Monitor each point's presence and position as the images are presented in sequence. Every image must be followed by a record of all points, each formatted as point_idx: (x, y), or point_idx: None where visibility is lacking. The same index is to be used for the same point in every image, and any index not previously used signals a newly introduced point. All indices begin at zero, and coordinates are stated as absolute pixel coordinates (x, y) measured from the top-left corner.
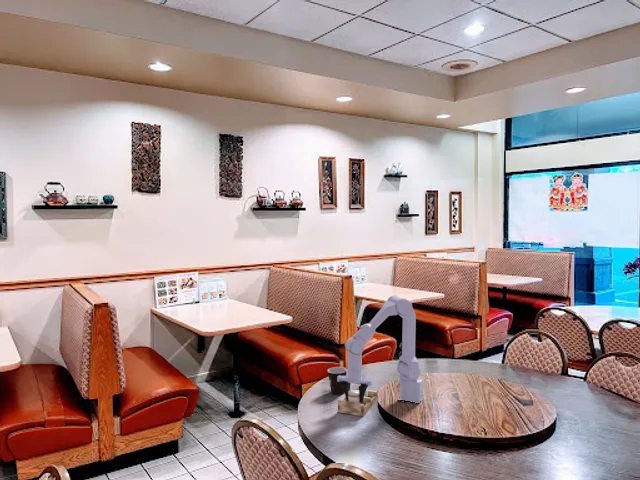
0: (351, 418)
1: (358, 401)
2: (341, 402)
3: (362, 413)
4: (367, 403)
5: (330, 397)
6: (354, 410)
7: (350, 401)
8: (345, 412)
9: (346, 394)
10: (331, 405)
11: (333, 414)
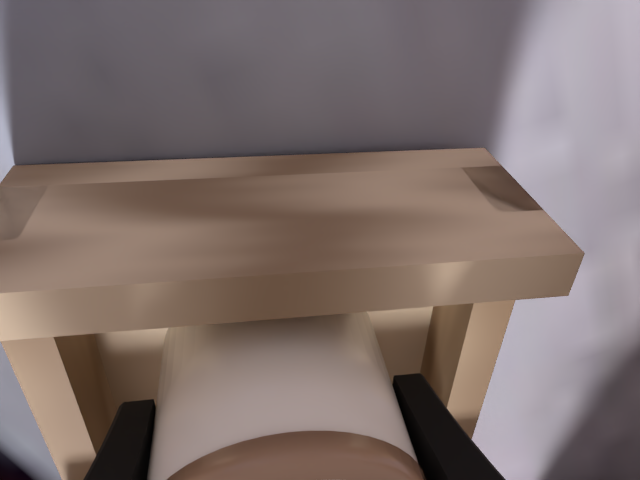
0: (180, 23)
1: (165, 405)
2: (491, 246)
3: (15, 190)
4: (76, 450)
5: (625, 437)
6: (183, 197)
7: (320, 347)
8: (356, 160)
9: (461, 471)
10: (598, 306)
11: (534, 73)
